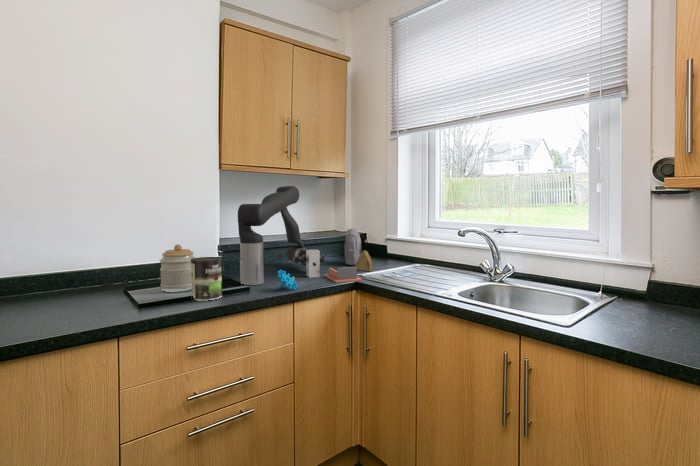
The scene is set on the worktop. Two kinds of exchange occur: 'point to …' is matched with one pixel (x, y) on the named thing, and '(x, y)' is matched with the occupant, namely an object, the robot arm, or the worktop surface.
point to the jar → (176, 268)
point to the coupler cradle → (343, 275)
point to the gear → (286, 280)
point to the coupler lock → (313, 263)
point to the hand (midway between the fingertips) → (312, 261)
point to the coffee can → (206, 278)
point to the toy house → (364, 262)
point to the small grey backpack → (352, 246)
